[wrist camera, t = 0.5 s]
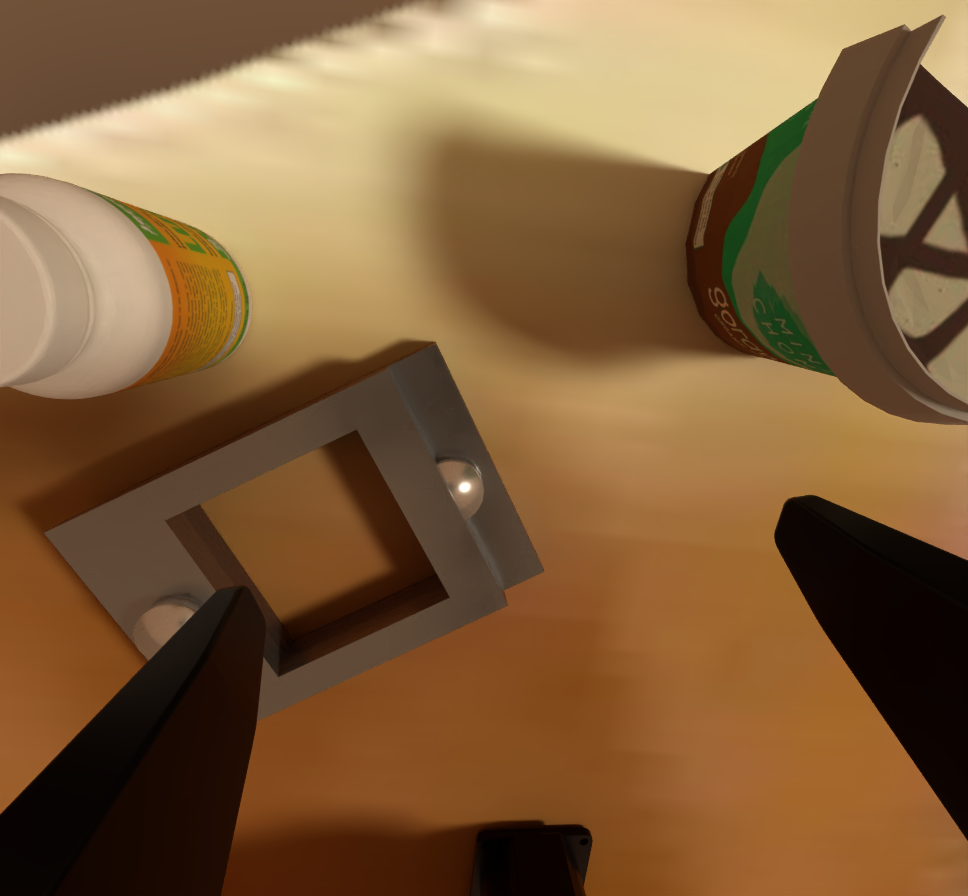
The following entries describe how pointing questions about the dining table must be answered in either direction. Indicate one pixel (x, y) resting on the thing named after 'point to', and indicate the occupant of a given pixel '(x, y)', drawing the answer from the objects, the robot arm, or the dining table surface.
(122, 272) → the supplement bottle
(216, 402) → the dining table surface
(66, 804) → the robot arm
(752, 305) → the food container
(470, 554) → the grey knobbed square frame
